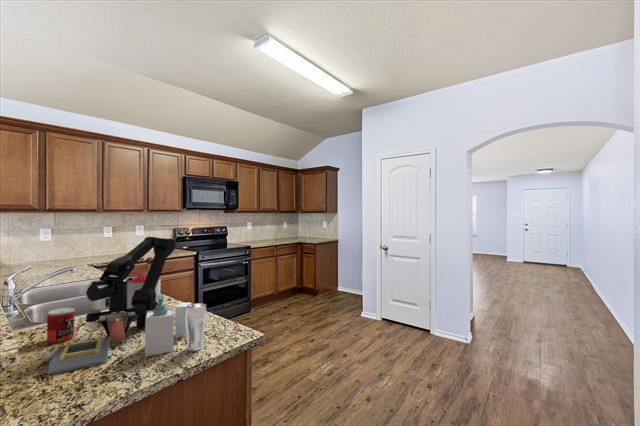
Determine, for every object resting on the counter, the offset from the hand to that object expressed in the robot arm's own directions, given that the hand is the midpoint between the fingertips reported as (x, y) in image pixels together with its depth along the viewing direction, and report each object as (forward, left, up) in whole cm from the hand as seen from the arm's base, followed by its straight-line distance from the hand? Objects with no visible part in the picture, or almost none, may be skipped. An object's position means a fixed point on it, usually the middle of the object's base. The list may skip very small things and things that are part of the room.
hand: (117, 334), depth 112 cm
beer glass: (-24, +23, -2) cm, 33 cm away
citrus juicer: (-8, -29, -2) cm, 30 cm away
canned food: (+18, -10, -2) cm, 21 cm away
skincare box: (-22, +8, -2) cm, 23 cm away
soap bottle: (-13, +18, -2) cm, 22 cm away
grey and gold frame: (+11, +13, -2) cm, 17 cm away
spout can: (0, 0, -2) cm, 2 cm away
